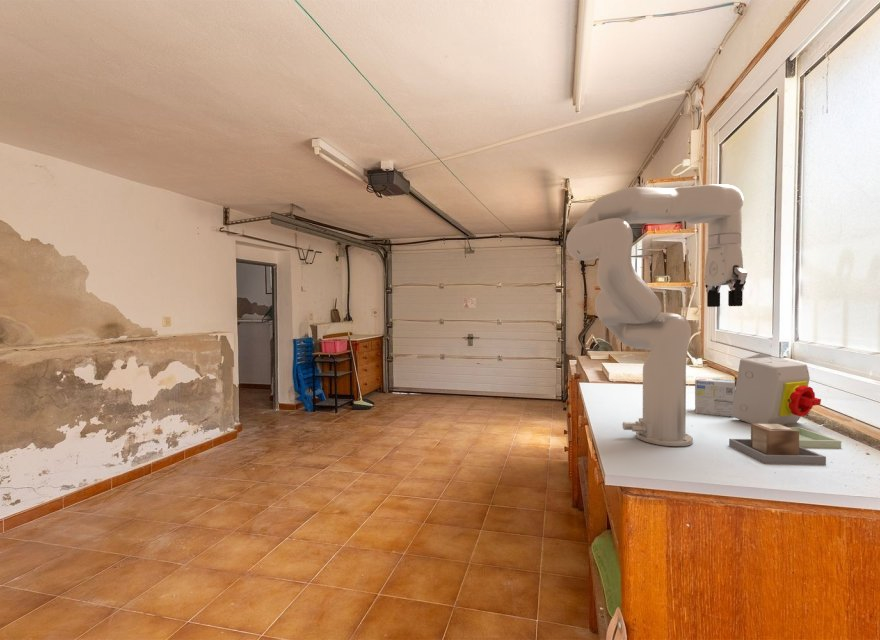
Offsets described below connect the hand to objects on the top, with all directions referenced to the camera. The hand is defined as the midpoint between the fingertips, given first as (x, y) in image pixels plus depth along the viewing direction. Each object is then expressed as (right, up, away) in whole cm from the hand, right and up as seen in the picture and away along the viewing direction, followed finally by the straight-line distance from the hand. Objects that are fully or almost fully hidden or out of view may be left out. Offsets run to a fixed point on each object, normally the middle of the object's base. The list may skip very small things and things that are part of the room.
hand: (724, 306), depth 115 cm
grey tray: (-3, -34, -21) cm, 40 cm away
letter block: (-3, -33, -21) cm, 39 cm away
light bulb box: (+10, -33, +20) cm, 40 cm away
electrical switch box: (+18, -34, +5) cm, 39 cm away
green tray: (+10, -33, -10) cm, 36 cm away
